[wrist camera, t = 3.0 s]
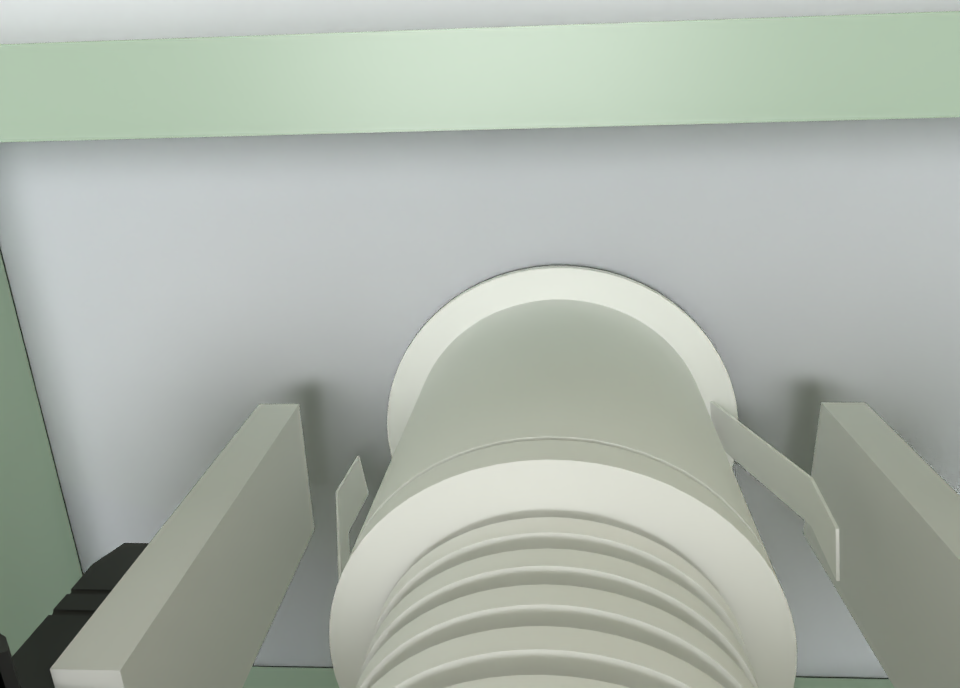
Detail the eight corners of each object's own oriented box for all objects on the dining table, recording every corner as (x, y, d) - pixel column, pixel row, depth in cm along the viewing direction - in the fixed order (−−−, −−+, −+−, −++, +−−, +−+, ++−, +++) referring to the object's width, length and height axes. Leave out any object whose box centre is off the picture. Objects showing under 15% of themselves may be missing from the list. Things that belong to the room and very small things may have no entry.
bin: (68, 700, 19) (-46, 858, 15) (-113, 59, 14) (-355, 56, 10) (1074, 724, 17) (1226, 906, 14) (1301, 12, 12) (1650, -13, 8)
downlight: (750, 232, 14) (1139, 592, 4) (766, 552, 16) (1043, 1225, 7) (336, 291, 15) (-33, 666, 6) (406, 580, 17) (225, 1180, 8)
